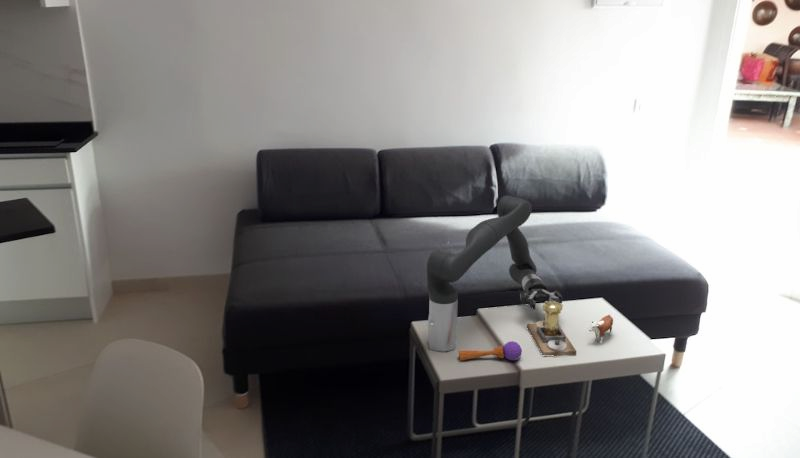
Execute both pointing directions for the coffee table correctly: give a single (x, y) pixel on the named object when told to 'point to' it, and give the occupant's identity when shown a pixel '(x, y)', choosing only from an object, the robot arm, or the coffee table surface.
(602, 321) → the bull figurine
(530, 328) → the board
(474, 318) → the coffee table surface
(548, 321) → the brass pinion
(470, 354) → the kendama
